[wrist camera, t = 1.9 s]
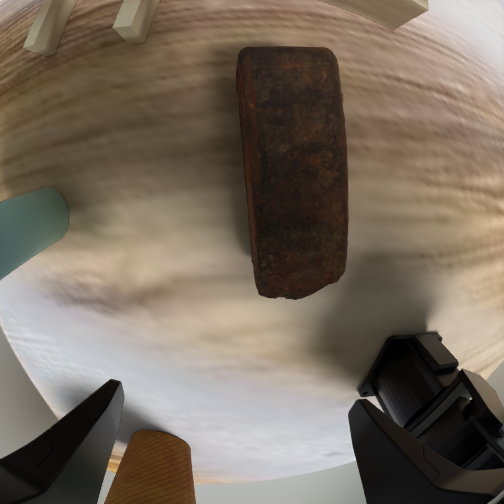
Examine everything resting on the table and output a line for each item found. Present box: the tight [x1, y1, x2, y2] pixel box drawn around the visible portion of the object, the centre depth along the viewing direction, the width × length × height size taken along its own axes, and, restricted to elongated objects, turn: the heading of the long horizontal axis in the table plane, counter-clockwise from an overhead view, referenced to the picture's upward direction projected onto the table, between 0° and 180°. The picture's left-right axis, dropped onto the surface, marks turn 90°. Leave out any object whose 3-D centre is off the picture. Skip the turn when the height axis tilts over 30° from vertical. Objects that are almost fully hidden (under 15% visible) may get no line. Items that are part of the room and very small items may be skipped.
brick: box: [236, 46, 348, 300], centre depth 12 cm, size 11×4×5 cm, turn 5°
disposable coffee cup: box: [104, 430, 196, 504], centre depth 16 cm, size 10×10×12 cm
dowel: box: [0, 188, 69, 280], centre depth 10 cm, size 4×4×8 cm
